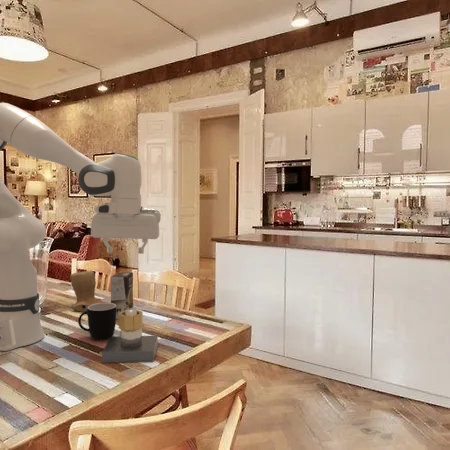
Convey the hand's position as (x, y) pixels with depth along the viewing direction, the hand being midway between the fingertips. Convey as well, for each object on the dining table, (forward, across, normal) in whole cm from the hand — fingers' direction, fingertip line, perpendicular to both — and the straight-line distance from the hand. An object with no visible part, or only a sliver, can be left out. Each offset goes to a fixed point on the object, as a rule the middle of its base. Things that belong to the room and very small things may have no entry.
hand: (125, 253), depth 120 cm
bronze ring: (+20, -3, +8) cm, 22 cm away
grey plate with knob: (+28, -4, +8) cm, 30 cm away
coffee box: (+29, +6, -28) cm, 40 cm away
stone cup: (+29, +23, -39) cm, 54 cm away
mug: (+29, +10, -6) cm, 31 cm away
